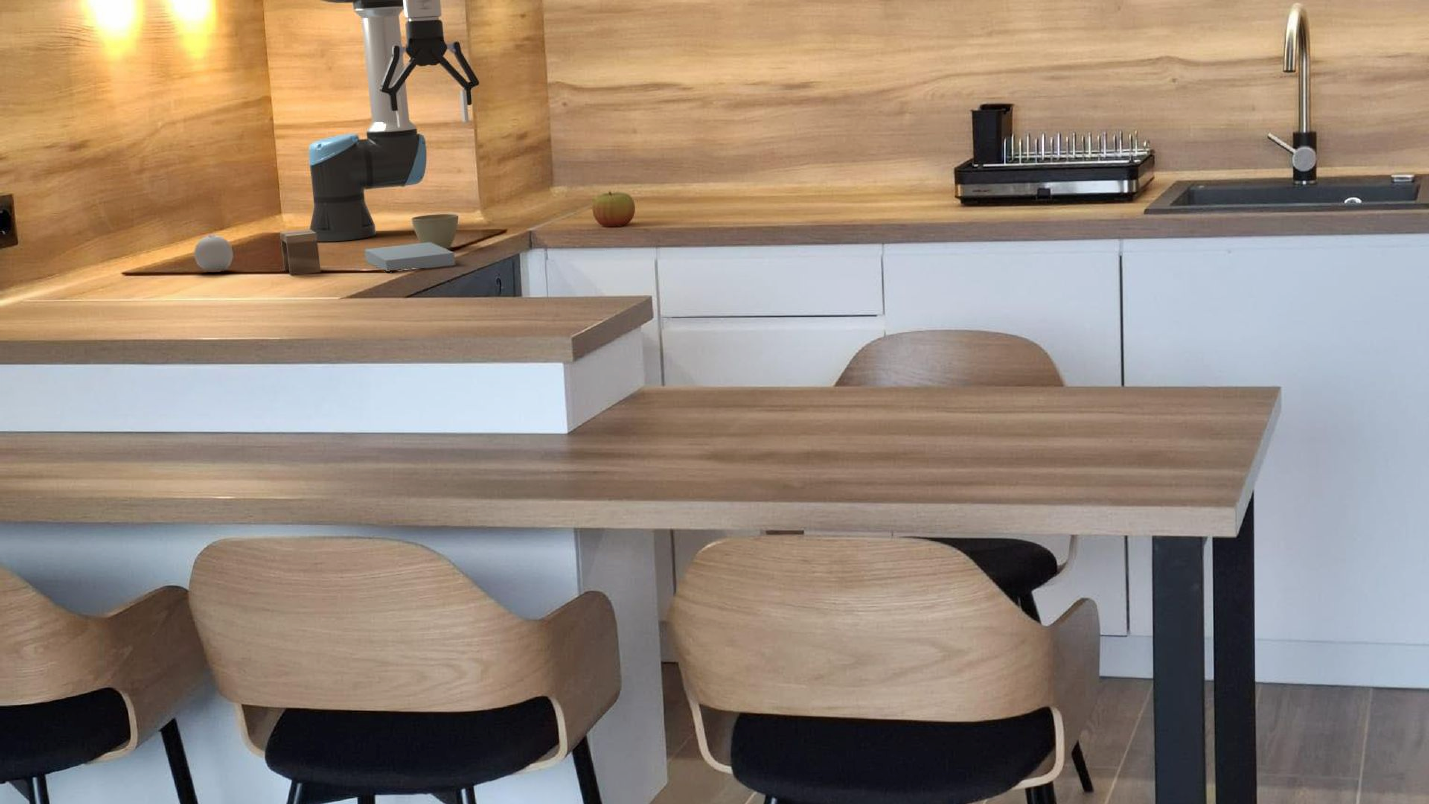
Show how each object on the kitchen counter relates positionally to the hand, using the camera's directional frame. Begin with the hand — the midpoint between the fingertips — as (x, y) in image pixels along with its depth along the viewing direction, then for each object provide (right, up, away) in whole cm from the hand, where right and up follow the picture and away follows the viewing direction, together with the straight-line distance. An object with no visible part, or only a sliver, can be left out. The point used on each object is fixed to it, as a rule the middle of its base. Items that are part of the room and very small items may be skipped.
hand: (433, 124), depth 360 cm
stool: (-26, -31, -4) cm, 40 cm away
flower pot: (-2, -25, +17) cm, 30 cm away
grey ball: (-46, -30, +3) cm, 55 cm away
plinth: (-5, -29, -1) cm, 29 cm away
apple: (+35, -17, +39) cm, 55 cm away
